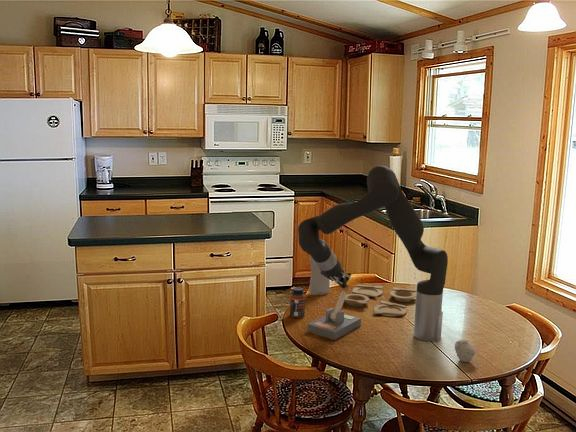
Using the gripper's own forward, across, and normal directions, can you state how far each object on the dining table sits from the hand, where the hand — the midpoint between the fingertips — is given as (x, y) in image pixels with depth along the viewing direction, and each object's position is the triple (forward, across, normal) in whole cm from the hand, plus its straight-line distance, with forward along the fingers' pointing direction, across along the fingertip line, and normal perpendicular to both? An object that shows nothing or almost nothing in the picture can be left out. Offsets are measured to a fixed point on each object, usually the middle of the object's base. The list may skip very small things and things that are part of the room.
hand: (344, 285), depth 210 cm
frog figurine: (+10, +48, -12) cm, 51 cm away
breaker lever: (+3, 0, -13) cm, 13 cm away
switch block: (+6, 0, -15) cm, 16 cm away
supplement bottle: (+8, -18, -14) cm, 24 cm away
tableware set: (+34, -2, +11) cm, 36 cm away
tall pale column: (+28, -27, +6) cm, 40 cm away
